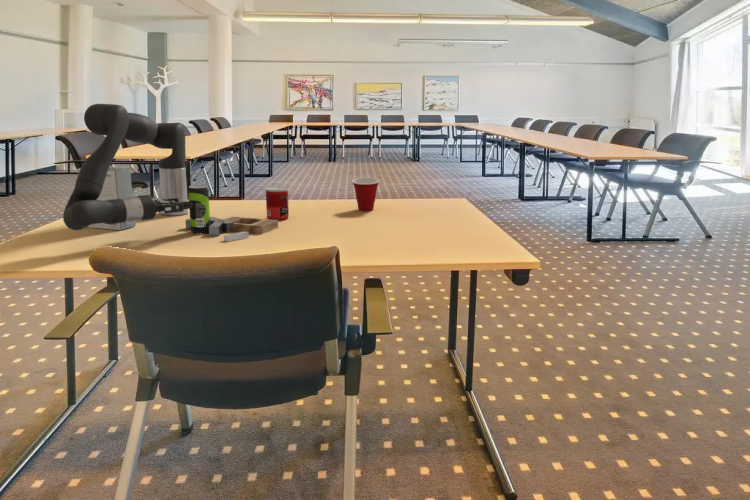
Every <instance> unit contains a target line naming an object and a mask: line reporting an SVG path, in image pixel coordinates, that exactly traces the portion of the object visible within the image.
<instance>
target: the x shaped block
mask: <svg viewBox="0 0 750 500" xmlns="http://www.w3.org/2000/svg"><path fill="white" fill-rule="evenodd" d="M224 219H225V218H219V217H214V216H210V226H209V232H208V234H209V235H208V236H209V237H219V236H220V235H221V234H222V233H231V232H234V231H233V224H234V222H232V221H228V220H224ZM185 230H191V224H190V218H186V219H185Z"/></svg>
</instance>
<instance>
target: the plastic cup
mask: <svg viewBox="0 0 750 500" xmlns="http://www.w3.org/2000/svg"><path fill="white" fill-rule="evenodd" d="M351 182H352V185H353V188H354V192H355V200H356V203H357V209H358V210H359V211H361V212H371V211H373V210H374V207H375V202H376V196H377V195H376V194H377V189H378V186H379V183H380V179H378V178H375V177H357V178H353V179H352V180H351Z"/></svg>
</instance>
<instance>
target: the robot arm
mask: <svg viewBox="0 0 750 500" xmlns="http://www.w3.org/2000/svg"><path fill="white" fill-rule="evenodd" d="M83 119H84V120H83V121H84V124H85V127H86V128H87V130H89V132H91V133H92V134H94V135H97V136H105V138H104V140H103V141H102V142H101V144H100V145H99V146H98V147H97V148H96V149H95V150H94V151H93V152H92V153H91V154H90V155H89V156H88V157H87V158H86V159H85V160H84V162H83V163H82V165H81V166H80V171H79V174H78V173H77V174H78V175H77V178H76V180H75V183H74V189H73V190H72V192H71V195H70V196H69V199H68V200H67V203H66V205H65V208H64V211H63V213H62V214H63V215H62V220H63V222H64V225H65V226H66V227H67V228H69V230H72V231H81V230H83V229H85V228H88V227H87V226H89V225H91V224H97V223H105V224H115V223H123V222H135V223H136V222H144V221H150V220H154V218H155V217H156V214H157V213H159V214H160V215H163V216H182V215H187V214H188V213H189V210H190V208H193V202H192V201H189V199H188V188H187V187H188V185H187V175H186V159H187V157H186V156H187V155H186V131H185V128H184V126H183V125H182V124H181V123H178V122H177V123H175V122H171V123H170V122H155V121H154V120H153V119H152V118H151V117H149V116H146V115H144V114H139V113H134V112H128V110H127V109H126V107H125V106H123V105H122V104H121V105H120V104H112V103H94V104H92V105H90V106H89V107H87V108H86V109H85V111H84V115H83ZM123 140H126V141H130V142H134V143H138V144H149V145H151V146H153V147H155V148H156V149H157V148H158V149H162V150H163V149H164V150H167V149H168V150H171V154H170V155H169V156H167V157H163V158H161V159H160V160H159V161H158V169H159V183H160V184H159V185H160V187H159V188H158V198H153V197H152V195H150V194H143V195H135V196H134V195H133V196H132V197H125V198H121V199H112V200H106V201H103V200H97V199H98V197H99V196H100V194H101V191H102V188H103V184H104V181H105V178H106V174H107V171H108V169H109V167H111V164H112V163H113V159H114V158H115V156H116V154H117V152H118V151H119V148H120V146H121V145H122V142H123Z"/></svg>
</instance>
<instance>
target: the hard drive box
mask: <svg viewBox="0 0 750 500" xmlns="http://www.w3.org/2000/svg"><path fill="white" fill-rule="evenodd" d="M80 168H81V167H80ZM80 168H79V167H78V168H77V174H79V171H80ZM131 176H132V174H131V167H123V166H122V167H121V166H120V167H119V166H109V169H108V171H107V174H106V178H105V181H104V184H103V188H102V191H101V194H100V196H99V197H98V199H97V200H103V201H106V200H112V199H121V198H125V197H132V196H134V195H133V185H132V177H131ZM133 227H136V222H123V223H115V224H105V223H97V224H91V225H89V226H87V227H86V228H91V229H101V230H102V229H103V230H111V231H122V230H126V229H129V228H133Z"/></svg>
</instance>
